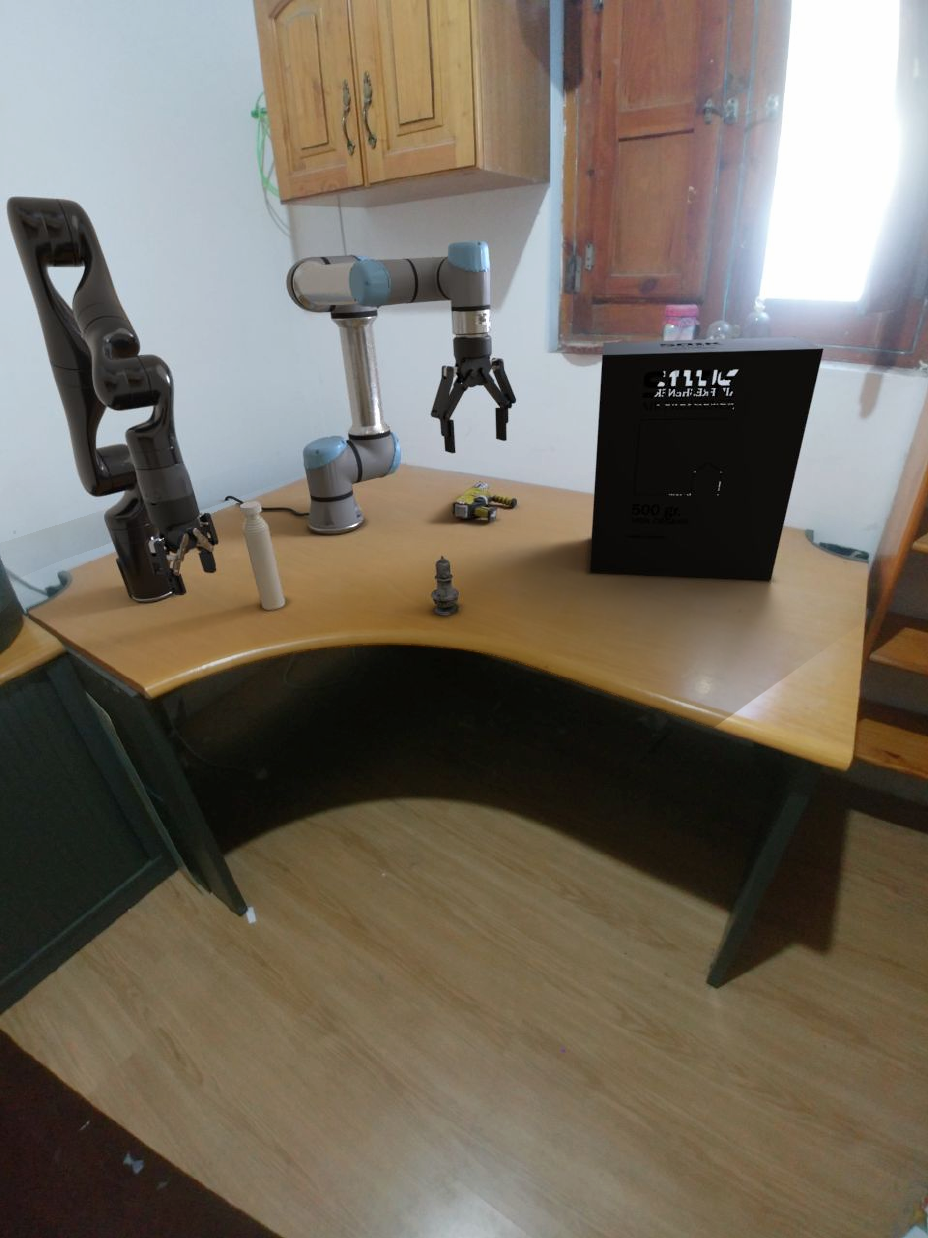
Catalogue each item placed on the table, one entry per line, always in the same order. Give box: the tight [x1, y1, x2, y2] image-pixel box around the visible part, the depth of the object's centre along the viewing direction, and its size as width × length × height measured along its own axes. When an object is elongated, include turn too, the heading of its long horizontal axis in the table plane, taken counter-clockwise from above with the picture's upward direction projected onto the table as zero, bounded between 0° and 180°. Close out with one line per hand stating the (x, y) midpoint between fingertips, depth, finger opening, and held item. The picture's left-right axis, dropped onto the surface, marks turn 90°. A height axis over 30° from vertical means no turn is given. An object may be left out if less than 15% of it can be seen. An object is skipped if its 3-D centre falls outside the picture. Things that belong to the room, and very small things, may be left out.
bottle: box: [242, 513, 287, 611], centre depth 124 cm, size 5×5×22 cm
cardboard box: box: [589, 336, 824, 581], centre depth 128 cm, size 38×20×45 cm, turn 78°
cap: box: [239, 500, 263, 516], centre depth 119 cm, size 4×4×2 cm
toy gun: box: [451, 480, 518, 523], centre depth 174 cm, size 5×24×15 cm
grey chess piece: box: [430, 555, 461, 616], centre depth 121 cm, size 6×6×12 cm
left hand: (195, 582), depth 104 cm, fingers open, 8 cm apart
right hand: (476, 445), depth 127 cm, fingers open, 13 cm apart
